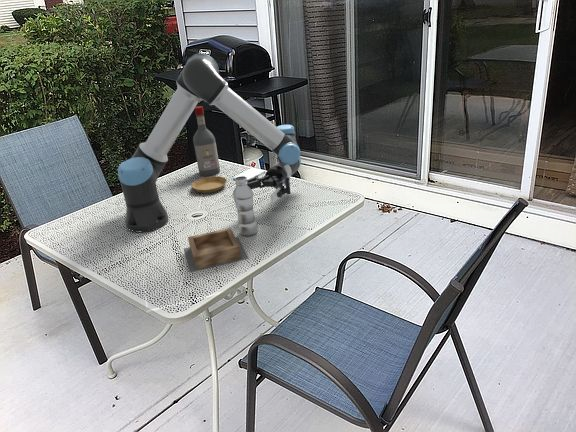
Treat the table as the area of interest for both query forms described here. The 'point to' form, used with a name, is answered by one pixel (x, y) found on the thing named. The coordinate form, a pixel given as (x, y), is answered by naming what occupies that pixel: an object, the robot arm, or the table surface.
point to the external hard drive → (250, 173)
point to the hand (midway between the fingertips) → (253, 197)
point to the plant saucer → (209, 184)
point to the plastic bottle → (244, 207)
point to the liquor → (205, 147)
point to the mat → (193, 268)
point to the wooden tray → (214, 248)
